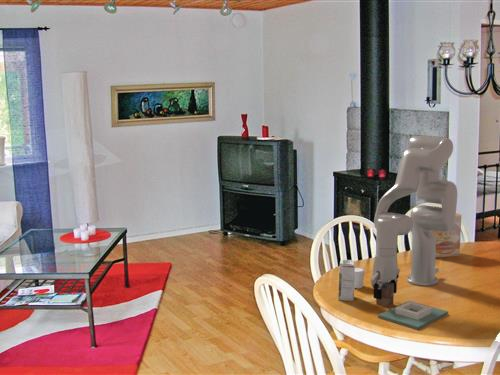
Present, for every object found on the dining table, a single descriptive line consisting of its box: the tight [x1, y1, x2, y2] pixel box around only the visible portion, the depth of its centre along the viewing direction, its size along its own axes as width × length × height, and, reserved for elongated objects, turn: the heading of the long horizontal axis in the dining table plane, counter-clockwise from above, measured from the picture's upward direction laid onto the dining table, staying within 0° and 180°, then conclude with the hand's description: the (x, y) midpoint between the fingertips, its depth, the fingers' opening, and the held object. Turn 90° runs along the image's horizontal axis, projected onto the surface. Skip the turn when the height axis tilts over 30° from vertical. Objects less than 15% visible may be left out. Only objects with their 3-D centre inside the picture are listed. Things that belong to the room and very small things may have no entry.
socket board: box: [377, 300, 449, 331], centre depth 237 cm, size 20×16×3 cm
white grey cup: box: [354, 266, 366, 289], centre depth 269 cm, size 7×7×7 cm
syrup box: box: [337, 259, 356, 302], centre depth 254 cm, size 6×6×14 cm
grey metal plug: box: [375, 281, 395, 308], centre depth 248 cm, size 4×4×8 cm
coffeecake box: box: [432, 212, 463, 258], centre depth 310 cm, size 15×7×20 cm, turn 104°
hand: (385, 295), depth 249 cm, fingers open, 9 cm apart
